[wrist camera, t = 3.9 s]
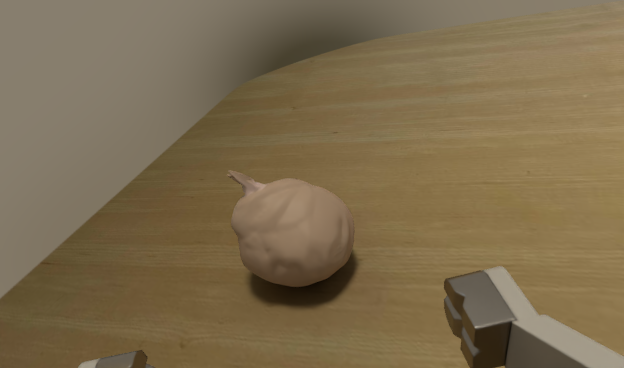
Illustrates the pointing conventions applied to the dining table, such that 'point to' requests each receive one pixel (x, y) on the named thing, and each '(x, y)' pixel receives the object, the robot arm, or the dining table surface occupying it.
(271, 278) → the garlic bulb
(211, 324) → the dining table surface
